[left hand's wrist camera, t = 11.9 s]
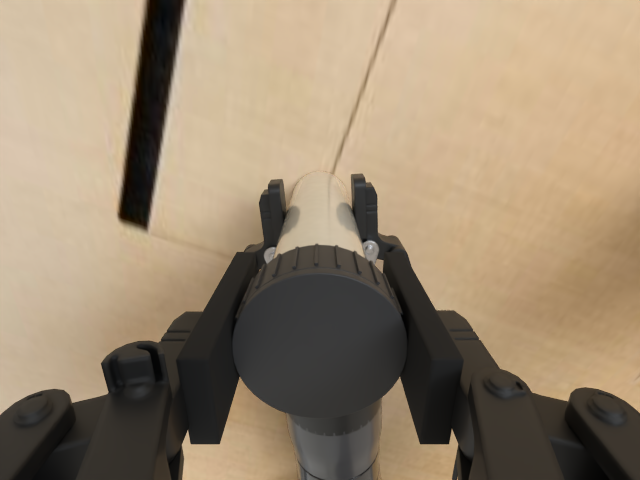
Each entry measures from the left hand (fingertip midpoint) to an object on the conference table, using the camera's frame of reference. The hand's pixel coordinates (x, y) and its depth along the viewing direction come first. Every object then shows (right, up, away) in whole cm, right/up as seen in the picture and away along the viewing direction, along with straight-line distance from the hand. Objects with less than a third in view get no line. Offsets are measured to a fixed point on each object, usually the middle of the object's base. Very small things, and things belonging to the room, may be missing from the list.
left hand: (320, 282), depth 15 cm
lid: (0, -1, -4) cm, 4 cm away
